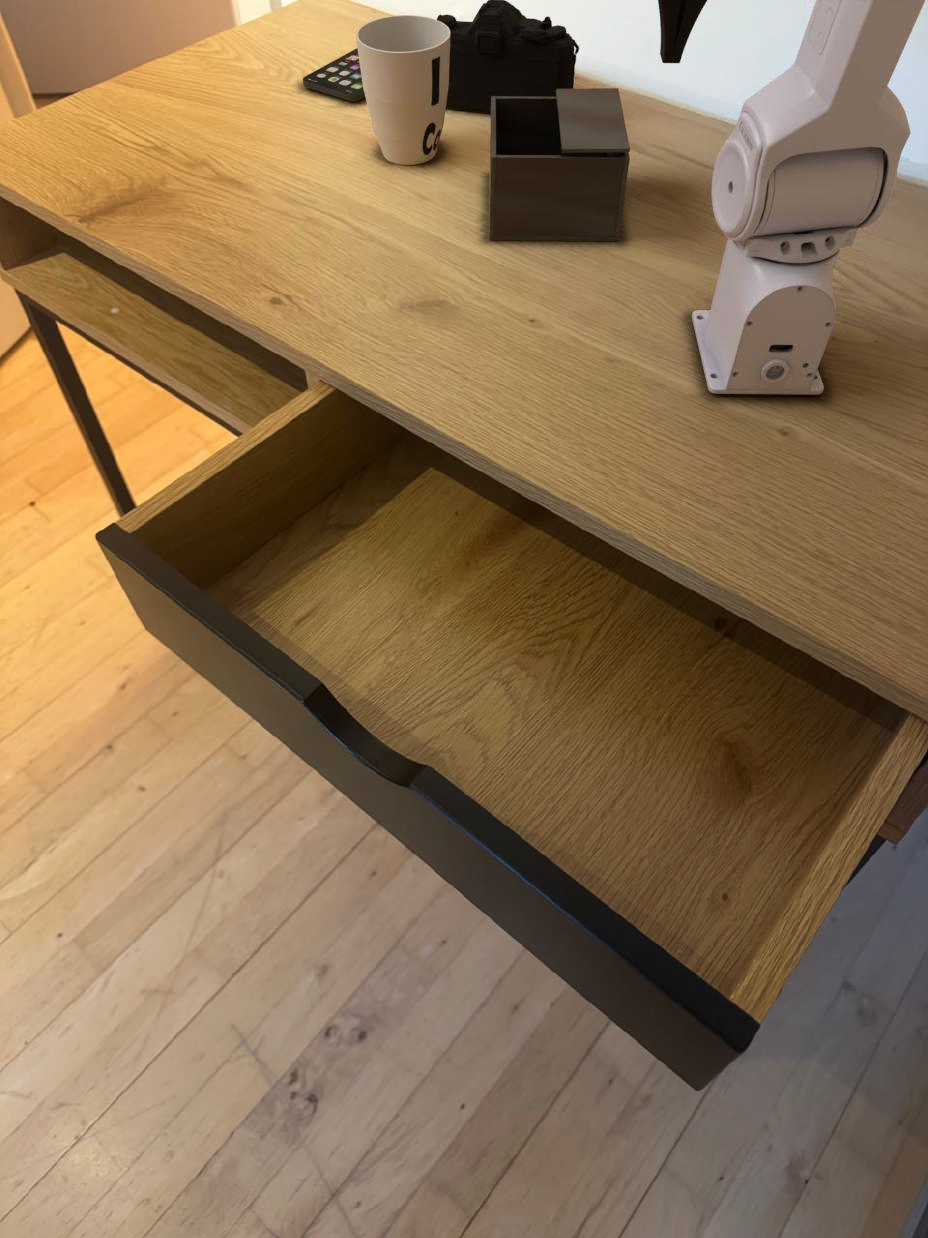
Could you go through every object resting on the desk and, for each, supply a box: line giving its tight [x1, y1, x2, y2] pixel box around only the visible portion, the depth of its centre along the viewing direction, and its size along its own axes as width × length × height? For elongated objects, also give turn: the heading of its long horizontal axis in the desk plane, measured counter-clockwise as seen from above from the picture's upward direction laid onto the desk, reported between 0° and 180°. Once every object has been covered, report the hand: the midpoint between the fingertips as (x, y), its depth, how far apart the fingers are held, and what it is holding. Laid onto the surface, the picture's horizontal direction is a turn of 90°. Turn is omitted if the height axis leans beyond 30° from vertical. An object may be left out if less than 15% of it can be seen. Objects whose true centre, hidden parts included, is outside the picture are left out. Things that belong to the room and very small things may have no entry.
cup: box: [355, 14, 450, 166], centre depth 81 cm, size 8×8×10 cm
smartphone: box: [302, 47, 366, 102], centre depth 96 cm, size 7×1×15 cm
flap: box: [556, 87, 631, 153], centre depth 73 cm, size 11×5×1 cm, turn 179°
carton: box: [488, 96, 631, 242], centre depth 76 cm, size 11×11×7 cm
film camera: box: [436, 0, 580, 115], centre depth 89 cm, size 15×10×9 cm, turn 74°
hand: (669, 58), depth 73 cm, fingers closed
